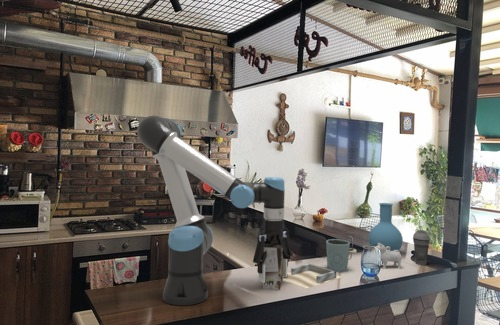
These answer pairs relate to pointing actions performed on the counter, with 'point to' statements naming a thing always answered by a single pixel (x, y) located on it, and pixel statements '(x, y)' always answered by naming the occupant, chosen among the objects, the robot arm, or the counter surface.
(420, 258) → the beverage cup
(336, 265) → the green mug
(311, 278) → the notched board
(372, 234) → the vase
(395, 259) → the white animal figurine
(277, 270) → the coffee box
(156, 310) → the counter surface
